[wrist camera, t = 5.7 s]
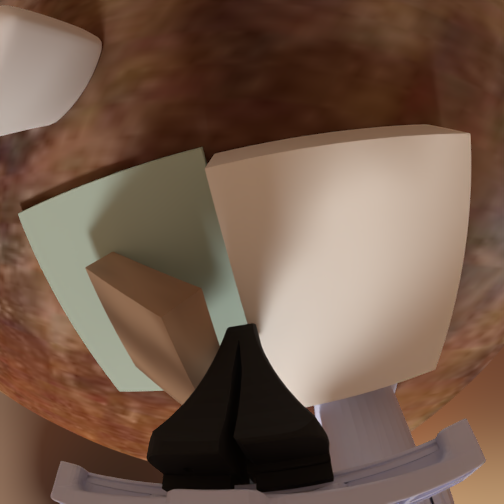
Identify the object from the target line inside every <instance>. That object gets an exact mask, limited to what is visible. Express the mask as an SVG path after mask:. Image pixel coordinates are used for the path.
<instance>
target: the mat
mask: <svg viewBox="0 0 504 504" xmlns="http://www.w3.org/2000/svg"><path fill="white" fill-rule="evenodd" d="M206 166H207V163H206V159H205V155H204V151H203V147H199V148H196V149H192V150H188V151H184V152H181V153H177V154H173V155H170V156H166V157H163V158H160V159H156V160H153V161H150V162H147V163H143V164H140V165H137V166H134V167H131V168H128V169H125V170H122V171H119V172H116V173H113V174H111V175H108V176H105V177H102V178H100V179H97V180H94V181H91V182H89V183H86V184H84V185H81V186H79V187H76V188H74V189H71V190H69V191H66V192H64V193H61V194H59V195H57V196H54V197H52V198H50V199H47V200H45V201H43V202H41V203H39V204H36V205H34V206H32V207H30V208H28V209H26V210H24V211H22V212H20V213H18V215H19V218H20V221H21V223H22V226H23V228H24V231H25V233H26V236H27V238H28V240H29V243H30V245H31V247H32V249H33V252H34V254H35V256H36V258H37V260H38V262H39V264H40V267H41V269H42V271H43V273H44V275H45V277H46V279H47V281H48V282H49V284H50V286H51V288H52V290H53V292H54V294H55V296H56V297H57V299H58V301H59V303H60V304H61V306H62V308H63V310H64V311H65V313H66V315H67V316H68V318H69V320H70V321H71V323H72V325H73V326H74V328H75V330H76V331H77V333H78V334H79V336H80V337H81V339H82V340H83V342H84V343H85V345H86V346H87V348H88V349H89V351H90V352H91V354H92V355H93V357H94V358H95V359H96V361H97V362H98V364H99V365H100V366H101V368H102V369H103V370H104V372H105V373H106V375H107V376H108V377H109V378H110V380H111V381H112V382H113V384H114V385H115V386H116V387H117V389H118V390H119V391H162V390H163V389H161V388H160V387H159V386H158V385H157V384H155V383H154V382H153V381H152V380H151V379H150V378H148V377H147V376H146V375H145V374H144V373H143V372H141V371H140V370H139V369H138V368H137V367H136V366H135V364H134V363H133V361H132V359H131V358H130V356H129V354H128V353H127V351H126V349H125V347H124V346H123V344H122V342H121V340H120V338H119V337H118V335H117V333H116V331H115V329H114V327H113V325H112V323H111V322H110V320H109V318H108V316H107V314H106V312H105V310H104V308H103V306H102V304H101V302H100V300H99V297H98V295H97V293H96V291H95V289H94V287H93V285H92V282H91V280H90V278H89V276H88V273H87V271H86V269H85V267H87V266H88V265H90V264H92V263H94V262H95V261H97V260H99V259H101V258H102V257H104V256H106V255H108V254H109V253H111V252H115V253H117V254H120V255H122V256H124V257H127V258H129V259H131V260H134V261H136V262H138V263H141V264H143V265H145V266H148V267H150V268H153V269H155V270H157V271H160V272H162V273H165V274H167V275H170V276H172V277H174V278H177V279H179V280H182V281H184V282H187V283H189V284H192V285H195V286H197V287H200V288H202V291H203V294H204V298H205V301H206V304H207V307H208V311H209V314H210V317H211V320H212V323H213V326H214V330H215V333H216V336H217V339H218V342H219V345H221V343H222V340H223V338H224V335H225V332H226V330H227V328H228V327H233V326H239V325H245V324H247V321H246V317H245V314H244V310H243V307H242V303H241V300H240V297H239V293H238V290H237V286H236V283H235V279H234V275H233V272H232V268H231V265H230V261H229V258H228V254H227V250H226V247H225V243H224V239H223V236H222V232H221V228H220V225H219V221H218V217H217V214H216V210H215V206H214V202H213V199H212V195H211V191H210V187H209V183H208V180H207V176H206V172H205V167H206Z"/></svg>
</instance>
